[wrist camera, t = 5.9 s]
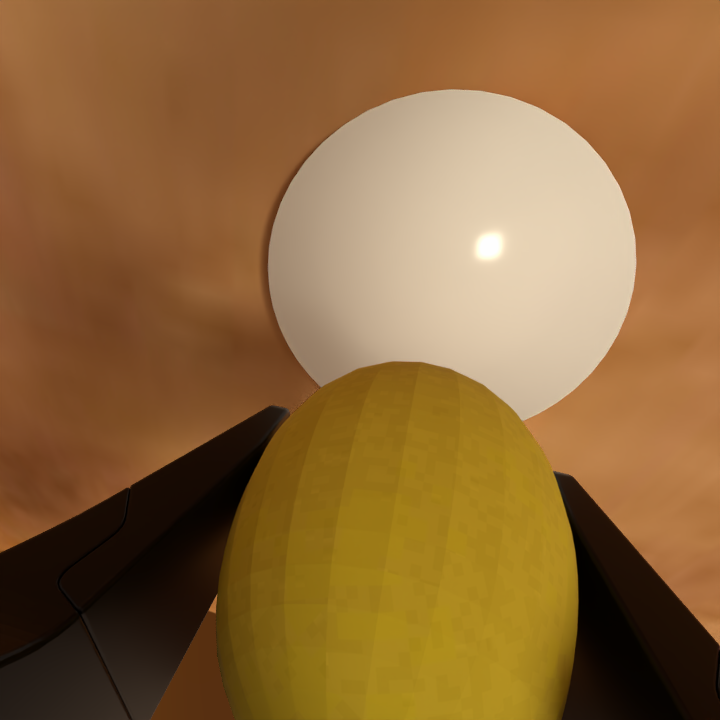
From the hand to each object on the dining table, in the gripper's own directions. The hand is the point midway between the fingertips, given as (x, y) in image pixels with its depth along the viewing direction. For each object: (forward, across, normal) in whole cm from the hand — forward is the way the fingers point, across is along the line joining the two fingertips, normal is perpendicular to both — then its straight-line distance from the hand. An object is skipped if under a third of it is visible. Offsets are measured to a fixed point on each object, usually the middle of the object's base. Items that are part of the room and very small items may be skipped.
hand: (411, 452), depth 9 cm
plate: (+10, 0, 0) cm, 10 cm away
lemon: (+2, 0, 0) cm, 2 cm away
